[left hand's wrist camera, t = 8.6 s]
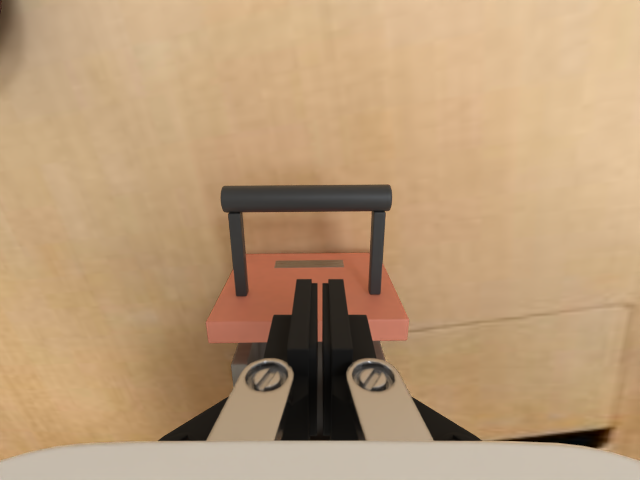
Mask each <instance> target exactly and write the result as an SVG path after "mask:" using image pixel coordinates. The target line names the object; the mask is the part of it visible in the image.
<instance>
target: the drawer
mask: <svg viewBox="0 0 640 480" xmlns="http://www.w3.org/2000/svg"><path fill="white" fill-rule="evenodd" d="M391 204H392V190H391V187H390V185H286V186H223V187H222V190H221V206H222V209H223V211H224V212H229V214H228V218H229V229H230V239H231V250H232V260H233V271H232V272H231V274H230V276H229V278H228V280H227V282H226V284H225V286H224V288H223V290H222V292H221V294H220V296H219V298H218V300H217V302H216V304H215V306H214V307H213V309H212V311H211V313H210V315H209V317H208V319H207V321H206V327H207V335H208V342H209V343H238V345H237V349H236V352H235V355H234V358H233V361H232V364H231V369H232V378H233V387H234V386H235V384H236V382H237V380H238V378H239V376H240V374H241V372H242V371H243V370H244V368H245V367H246V366H248V365H249V364H250V363H252V362H255V361H257V360H260V359H263V358H264V353H265V349H266V345H267V340H268V336H269V332H270V327H271V323H272V319H273V315H292V309H293V302H294V294H295V287H296V280H297V279H312V283H318V382H317V436H310V441H330V436H323V382H322V283H328V279H343V280H344V287H345V294H346V302H347V309H348V315H367V319H368V323H369V327H370V332H371V336H372V340H373V345H374V349H375V353H376V358H377V359H380V360H383V361H385V358H384V354H383V351H382V347H381V344H380V341H392V340H407V336H408V325H409V319H408V316H407V314H406V312H405V310H404V308H403V306H402V304H401V301H400V299H399V297H398V295H397V293H396V291H395V289H394V286H393V284H392V282H391V280H390V278H389V276H388V273H387V271H386V269H385V267H384V265H383V246H384V230H385V214H386V213H385V211H389V210H390V208H391ZM332 211H372V220H371V241H370V253H303V254H246V252H245V240H244V227H243V215H242V212H332ZM385 362H386V361H385Z"/></svg>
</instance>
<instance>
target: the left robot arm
mask: <svg viewBox="0 0 640 480" xmlns="http://www.w3.org/2000/svg"><path fill="white" fill-rule="evenodd" d="M317 382H318V283H312V279H297V280H296V287H295V294H294V302H293V309H292V315H273V319H272V323H271V327H270V332H269V336H268V340H267V345H266V349H265V353H264V358H263V359H260V360H257V361H255V362H252V363H250V364H249V365H248V366H246V367H245V368H244V370H243V371H242V372H241V374H240V376H239V378H238V380H237V382H236V384H235V386H234V388H233V389H232V391H231V393H230V395H229V397H227V398H225V399H224V400H222V401H221V402H219V403H217V404H216V405H214V406H212V407H211V408H209V409H208V410H206V411H204V412H203V413H201V414H199V415H198V416H196V417H195V418H193V419H191V420H190V421H188V422H186V423H185V424H183V425H181V426H180V427H178V428H177V429H175V430H173V431H172V432H170V433H168V434H167V435H165V436H164V437H162V438H161V439H160V440H158V441H126V442H100V443H80V444H71V445H62V446H55V447H50V448H45V449H40V450H35V451H30V452H27V453H23V454H20V455H17V456H13V457H10V458H7V459H3V460H0V480H640V460H637V459H633V458H630V457H627V456H623V455H620V454H617V453H613V452H610V451H605V450H600V449H595V448H590V447H585V446H578V445H569V444H560V443H540V442H514V441H482V440H480V439H479V438H478V437H476V436H475V435H473V434H472V433H470V432H468V431H467V430H465V429H463V428H462V427H460V426H459V425H457V424H455V423H454V422H452V421H450V420H449V419H447V418H445V417H444V416H442V415H441V414H439V413H437V412H436V411H434V410H432V409H431V408H429V407H428V406H426V405H424V404H423V403H421V402H419V401H418V400H416V399H415V398H413V397H411V395H410V393H409V391H408V389H407V388H406V386H405V384H404V382H403V380H402V378H401V376H400V374H399V372H398V371H397V370H396V368H395V367H394V366H392V365H391V364H390V363H388V362H385V361H383V360H380V359H377V358H376V353H375V349H374V345H373V340H372V336H371V332H370V327H369V323H368V319H367V315H348V309H347V302H346V294H345V287H344V280H343V279H328V283H322V382H323V436H330V441H310V436H317Z"/></svg>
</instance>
